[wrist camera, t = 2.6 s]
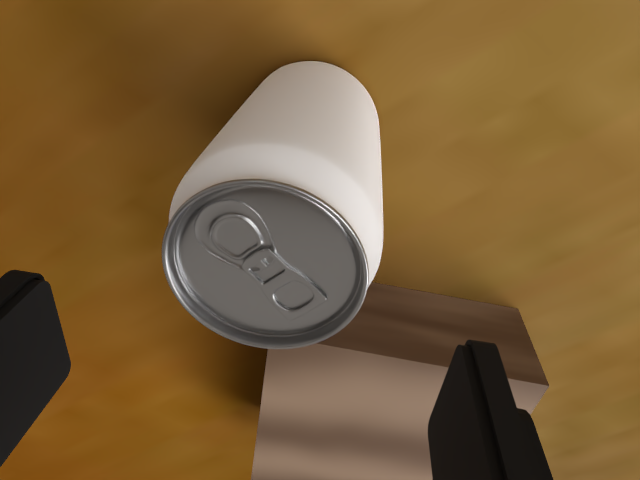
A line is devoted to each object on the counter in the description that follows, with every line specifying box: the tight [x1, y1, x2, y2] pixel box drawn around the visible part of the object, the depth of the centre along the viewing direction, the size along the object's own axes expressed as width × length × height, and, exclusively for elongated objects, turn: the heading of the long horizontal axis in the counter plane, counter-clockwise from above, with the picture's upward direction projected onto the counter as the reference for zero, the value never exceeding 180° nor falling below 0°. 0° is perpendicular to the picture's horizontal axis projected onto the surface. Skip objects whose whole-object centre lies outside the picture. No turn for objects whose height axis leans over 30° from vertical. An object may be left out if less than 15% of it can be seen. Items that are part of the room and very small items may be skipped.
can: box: [162, 61, 383, 349], centre depth 17 cm, size 6×6×12 cm
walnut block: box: [251, 282, 549, 480], centre depth 29 cm, size 14×14×6 cm
